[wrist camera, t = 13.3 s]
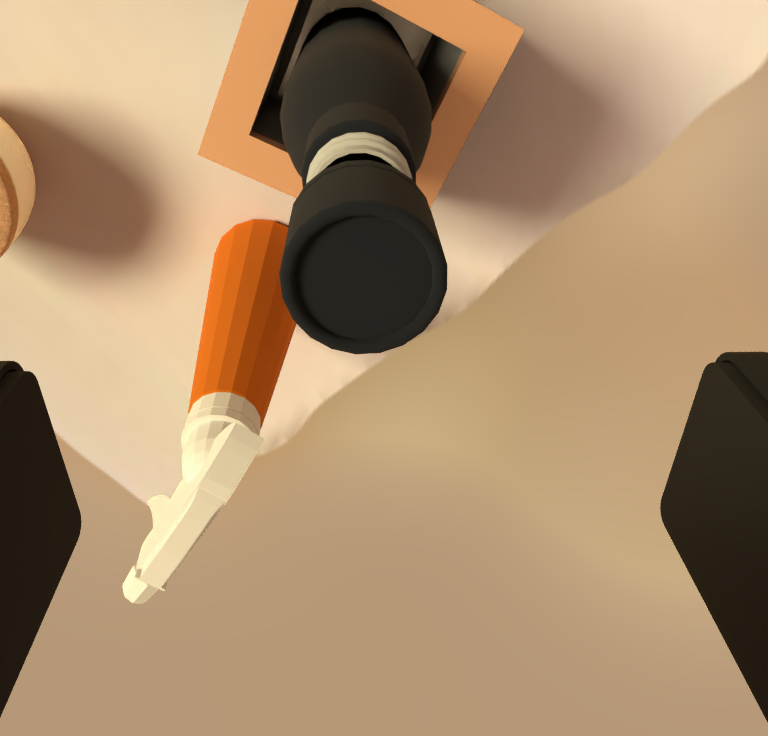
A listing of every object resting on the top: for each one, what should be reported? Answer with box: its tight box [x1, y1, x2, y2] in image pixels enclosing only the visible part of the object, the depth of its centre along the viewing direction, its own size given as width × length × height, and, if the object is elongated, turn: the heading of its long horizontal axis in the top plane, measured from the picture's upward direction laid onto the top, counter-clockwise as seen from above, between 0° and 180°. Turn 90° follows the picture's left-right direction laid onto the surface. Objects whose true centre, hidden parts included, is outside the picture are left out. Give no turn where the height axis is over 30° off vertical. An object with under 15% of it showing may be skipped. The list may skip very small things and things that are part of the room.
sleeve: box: [198, 0, 524, 207], centre depth 38 cm, size 12×12×11 cm
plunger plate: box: [278, 0, 432, 96], centre depth 41 cm, size 7×7×1 cm
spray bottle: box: [123, 219, 296, 604], centre depth 39 cm, size 7×11×26 cm, turn 141°
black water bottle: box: [279, 7, 447, 354], centre depth 28 cm, size 6×6×30 cm
